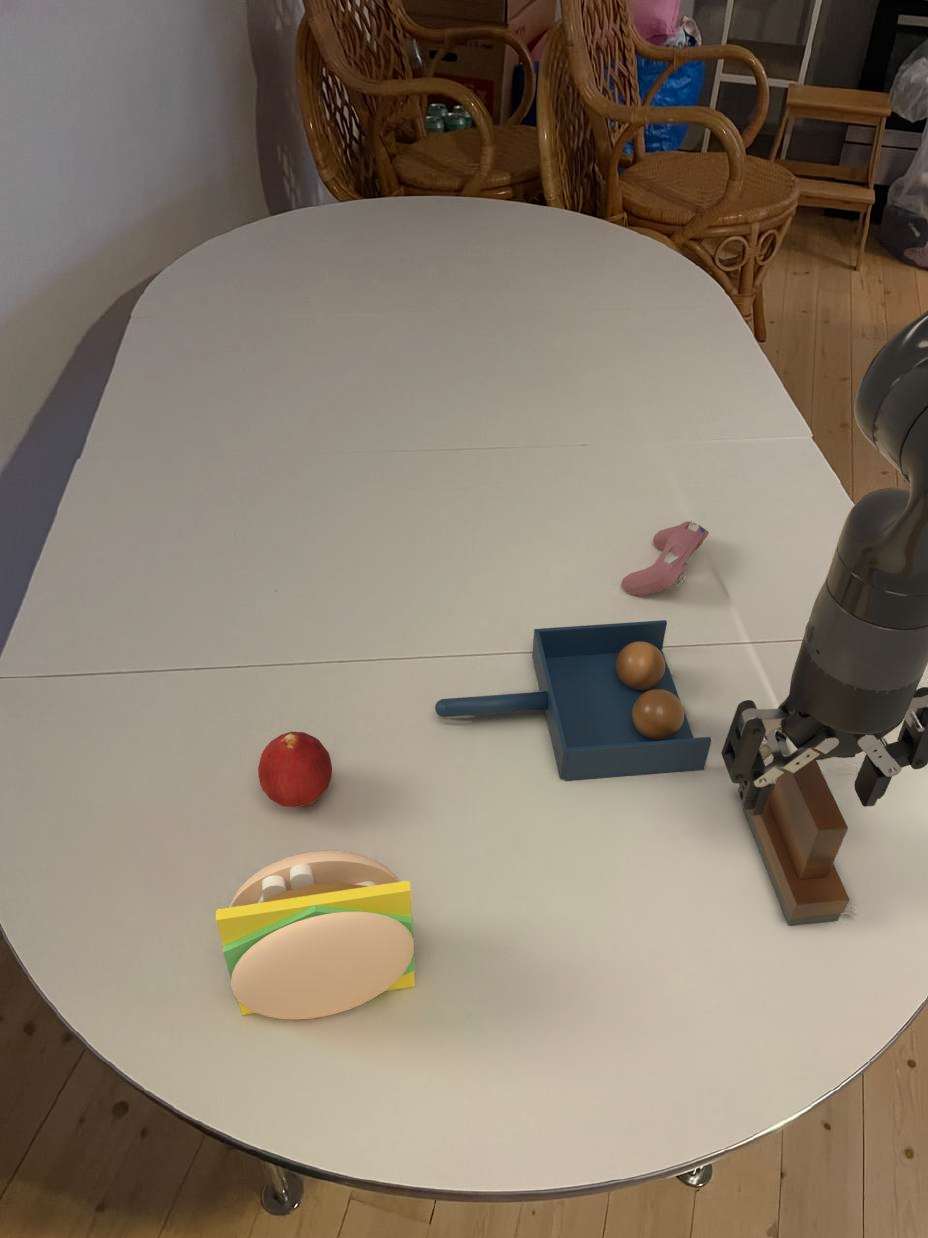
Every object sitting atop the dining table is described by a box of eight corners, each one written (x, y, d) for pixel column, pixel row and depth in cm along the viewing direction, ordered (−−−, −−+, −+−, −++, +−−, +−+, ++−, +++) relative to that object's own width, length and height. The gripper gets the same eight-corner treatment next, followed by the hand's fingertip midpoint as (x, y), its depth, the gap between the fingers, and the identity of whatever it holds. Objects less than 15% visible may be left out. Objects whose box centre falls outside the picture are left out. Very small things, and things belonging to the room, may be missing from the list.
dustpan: (660, 649, 99) (666, 619, 97) (704, 770, 88) (711, 740, 86) (428, 665, 97) (427, 635, 95) (443, 791, 86) (443, 761, 84)
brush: (788, 804, 86) (814, 731, 80) (839, 922, 78) (872, 850, 72) (741, 808, 85) (764, 735, 79) (787, 927, 77) (816, 856, 71)
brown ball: (602, 659, 96) (642, 670, 98) (612, 694, 93) (653, 704, 94) (627, 626, 94) (667, 638, 95) (638, 660, 90) (680, 672, 92)
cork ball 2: (638, 675, 89) (619, 710, 92) (650, 713, 86) (630, 748, 89) (684, 681, 90) (664, 715, 93) (698, 719, 87) (677, 753, 90)
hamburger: (402, 912, 78) (397, 813, 70) (419, 1016, 72) (416, 921, 64) (239, 937, 76) (215, 839, 68) (242, 1046, 70) (216, 953, 62)
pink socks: (649, 617, 105) (689, 580, 99) (614, 588, 105) (652, 549, 100) (685, 563, 111) (724, 526, 106) (652, 536, 111) (689, 497, 106)
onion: (273, 768, 88) (262, 703, 83) (341, 774, 88) (334, 709, 82) (256, 824, 84) (243, 759, 78) (327, 831, 83) (319, 766, 78)
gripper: (776, 695, 63) (728, 852, 74) (1001, 678, 64) (921, 835, 75) (739, 612, 68) (700, 769, 79) (947, 598, 70) (880, 755, 81)
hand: (807, 801), depth 77 cm, fingers open, 8 cm apart
